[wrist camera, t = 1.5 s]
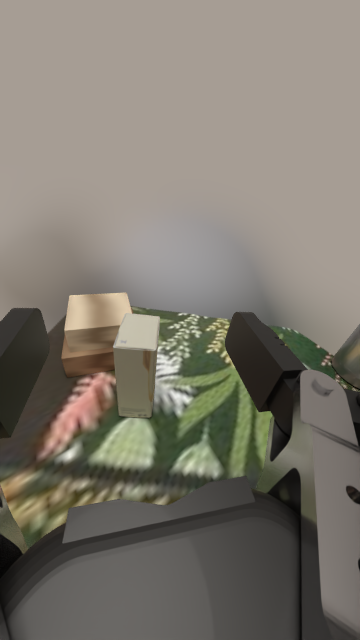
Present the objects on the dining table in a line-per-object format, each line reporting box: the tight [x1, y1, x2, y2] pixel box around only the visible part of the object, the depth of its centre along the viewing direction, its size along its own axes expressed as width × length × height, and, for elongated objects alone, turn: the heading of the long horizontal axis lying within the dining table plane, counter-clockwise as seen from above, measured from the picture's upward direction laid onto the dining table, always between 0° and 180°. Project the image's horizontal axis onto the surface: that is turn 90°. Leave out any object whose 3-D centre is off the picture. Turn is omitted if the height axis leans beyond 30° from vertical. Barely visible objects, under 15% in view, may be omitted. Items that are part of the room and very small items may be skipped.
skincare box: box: [113, 313, 160, 418], centre depth 26 cm, size 6×4×12 cm
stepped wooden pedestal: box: [61, 293, 133, 378], centre depth 34 cm, size 11×11×8 cm
